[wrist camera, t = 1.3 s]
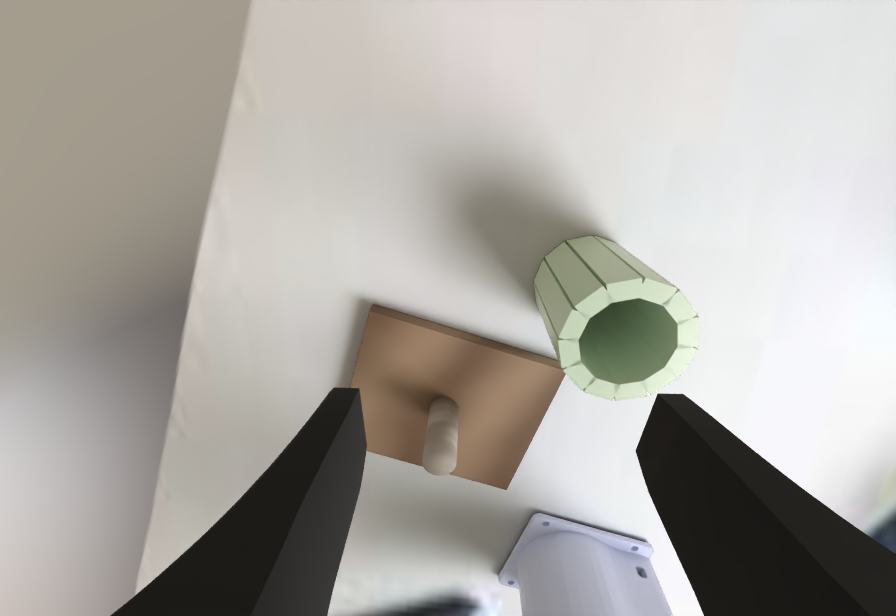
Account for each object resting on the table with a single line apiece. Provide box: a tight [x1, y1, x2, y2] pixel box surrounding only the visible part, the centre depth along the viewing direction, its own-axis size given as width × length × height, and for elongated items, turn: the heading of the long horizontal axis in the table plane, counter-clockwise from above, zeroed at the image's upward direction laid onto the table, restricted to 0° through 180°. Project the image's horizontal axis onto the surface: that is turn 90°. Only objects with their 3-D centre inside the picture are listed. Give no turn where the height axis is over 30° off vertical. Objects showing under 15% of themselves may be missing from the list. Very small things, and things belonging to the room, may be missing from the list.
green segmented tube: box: [534, 236, 699, 401], centre depth 19 cm, size 5×5×7 cm
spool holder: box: [350, 304, 566, 490], centre depth 24 cm, size 12×10×6 cm
